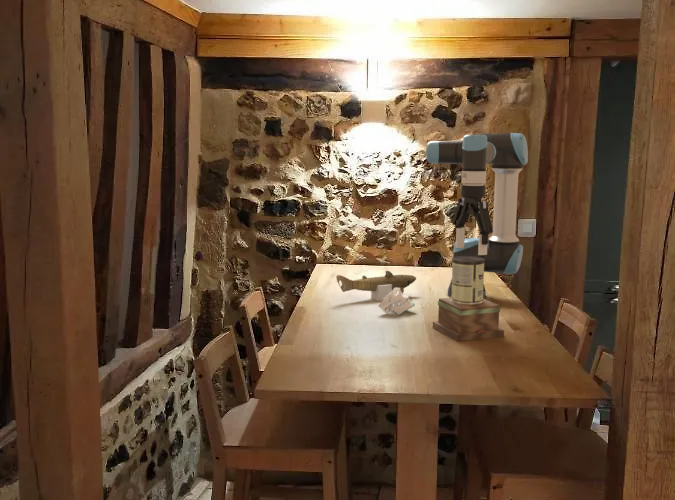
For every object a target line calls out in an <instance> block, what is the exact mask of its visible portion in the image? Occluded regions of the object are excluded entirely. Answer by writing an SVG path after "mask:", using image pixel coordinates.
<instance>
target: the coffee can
mask: <svg viewBox="0 0 675 500" xmlns="http://www.w3.org/2000/svg"><path fill="white" fill-rule="evenodd" d="M451 261H452V262H451V265H452V268H451V269H452V270H451V271H452V272H451V274H452V275H451V279H452V297H450V298H451V301H452V302H454V303H458V304H465V305H476V304H481V303H482V302H483V299H484V298H483V283H484V282H485V280H484V279H485V272H484V262H485V259H484V258H481V257H475V256H457V257H453V256H452V259H451ZM484 284H485V283H484Z"/></svg>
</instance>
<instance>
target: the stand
mask: <svg viewBox="0 0 675 500" xmlns="http://www.w3.org/2000/svg"><path fill="white" fill-rule="evenodd" d="M451 298H452V297H442V298H438V301H437V305H438V316H437V318H438V320H437V321H436V320H435V321H434V320H433V321H432V328H433V329H435V330H437V332H440V333H442V334H444V335H445V336H447V337H449V338H451V339H452V340H454V341H455V340H456V341H455V342H463V341H464V340H465V341H472V339H474V340H481V338H483V339H489V338H499V337H505V330H504V328H501V327H500V326H499V325H500V312H501V307H500V305H499V304H497V303H494V302H492V301H490V300H488V299H485V298H483V302H482V303H481V304H476V305H465V304H458V303H454V302H452V301H451Z"/></svg>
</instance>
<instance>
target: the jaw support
mask: <svg viewBox="0 0 675 500" xmlns="http://www.w3.org/2000/svg"><path fill="white" fill-rule="evenodd" d="M383 299H384V300H383V301H380V303H379V304H378V305H377V306H378V307H379V308H380V309H381V311H383V312H384V313H385V314H386V315H388V316H389V315H390V313H389V312H395V314H397V315H401V314H402V313H403V312H405V311H408V310H410V309H412V308H413V307H416V306H415V305H416V304H415V302H413V301H412V300H411V299H410V298H409V296H408V295H406V294H404V293H403V294H402V292H401V290H400V288H397V287H396V288H394V289H393V290H392V291H391V292H390V293H389V294H388V295H386V296H385V297H384V298H383Z"/></svg>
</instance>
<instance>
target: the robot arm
mask: <svg viewBox="0 0 675 500" xmlns="http://www.w3.org/2000/svg"><path fill="white" fill-rule="evenodd" d="M425 156H426V157H425V158H426V160H427V162H428V164H434V165H461V174H460V176H461V184H462V185H461V186H460V197H462V198H460V197H459V198H458V200H457V206H456V209H455V214H454V215H453V216H454V217H453V219H452V225H453V226H454V227H455V228H456V229H455V233H456V234H455V242H454V244H453V251H452V254H453V255H452V258H453V257H457V256H475V257H481V258H484V259H485V262H484V273H494V274H495V273H496V274H503V275H507V274H508V275H514V274H516V273H518V272H519V269H520V267H521V263H522V261H523V260H522V259H523V255H524V254H523V253H524V246H523V245H522V244H520V239H519V238H518V237H517V235H516V230H517V229H516V228H517V227H516V226H517V209H518V207H517V206H518V191H519V188H518V187H519V174H520V172H522V170H523V169H524V166H525V165H527V164H528V162H529V149H528V143H527V139H526V136H525V135H524V134H523V133H517V132H510V133H509V132H499V133H498V132H495V133H493V132H491V133H489V132H482V133H477V134H465V135H464V136H463V137H462V138H461V139H453V140H435V141H433V140H432V141H429V142H428V143H427V145H426V150H425ZM489 164H490V165H491V171H493V172H494V174H495V175H494V194H493V195H494V196H493V197H494V198H493V214H492V215H493V218H492V219H493V220H491V215H490V211H489V202H488V201H482V200H483V198H485V197H486V183H487V165H489ZM471 215H472V217H474V219H475V222H476V225H477V227H478V229H479V233H478V237H471V238H465V235H466V234H465V230H466V227H465V224H466V222H467V221H468V219H469V216H471ZM490 234H491V236H490V237H489V235H490ZM447 296H448V297H449V298H452V278H451V280H450V282H449V285H448V288H447ZM486 296H487V291H486V286H485V283H483V299H485V298H486Z"/></svg>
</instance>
